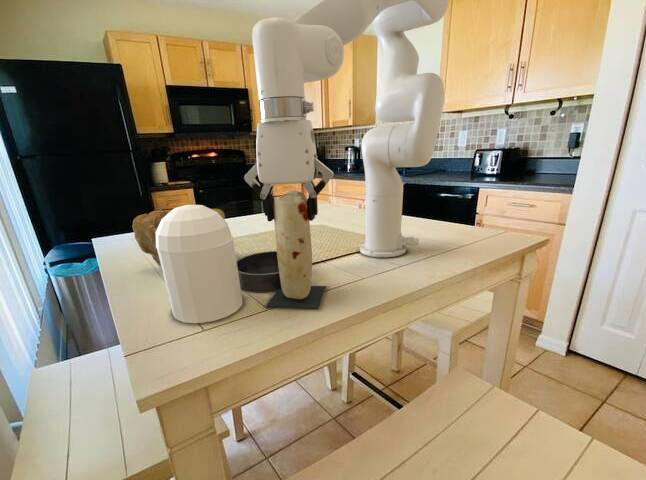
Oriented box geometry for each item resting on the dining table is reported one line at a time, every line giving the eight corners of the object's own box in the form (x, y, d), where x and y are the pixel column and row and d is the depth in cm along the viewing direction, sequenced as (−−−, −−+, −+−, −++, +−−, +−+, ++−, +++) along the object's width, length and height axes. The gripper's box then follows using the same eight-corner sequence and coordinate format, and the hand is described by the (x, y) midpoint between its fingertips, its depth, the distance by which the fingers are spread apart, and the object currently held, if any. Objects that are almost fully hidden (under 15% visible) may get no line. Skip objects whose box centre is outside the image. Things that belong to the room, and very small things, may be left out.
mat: (325, 287, 72) (325, 285, 72) (317, 309, 63) (317, 307, 63) (280, 286, 74) (280, 285, 73) (266, 307, 65) (266, 305, 64)
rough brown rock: (139, 291, 78) (123, 228, 71) (143, 264, 92) (130, 210, 85) (239, 275, 86) (233, 218, 79) (229, 253, 99) (223, 202, 93)
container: (173, 330, 58) (144, 215, 51) (171, 300, 70) (148, 203, 62) (249, 312, 63) (233, 205, 55) (236, 287, 74) (221, 195, 67)
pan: (310, 266, 85) (309, 251, 83) (295, 293, 70) (294, 275, 68) (249, 265, 88) (247, 250, 86) (222, 291, 73) (219, 274, 72)
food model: (319, 300, 64) (314, 193, 57) (285, 306, 63) (275, 197, 55) (308, 282, 73) (302, 187, 65) (278, 286, 72) (268, 190, 64)
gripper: (337, 110, 57) (340, 214, 64) (242, 117, 60) (254, 216, 67) (332, 106, 50) (335, 223, 57) (224, 115, 54) (239, 224, 60)
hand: (291, 218), depth 62 cm, fingers closed on food model, 7 cm apart
